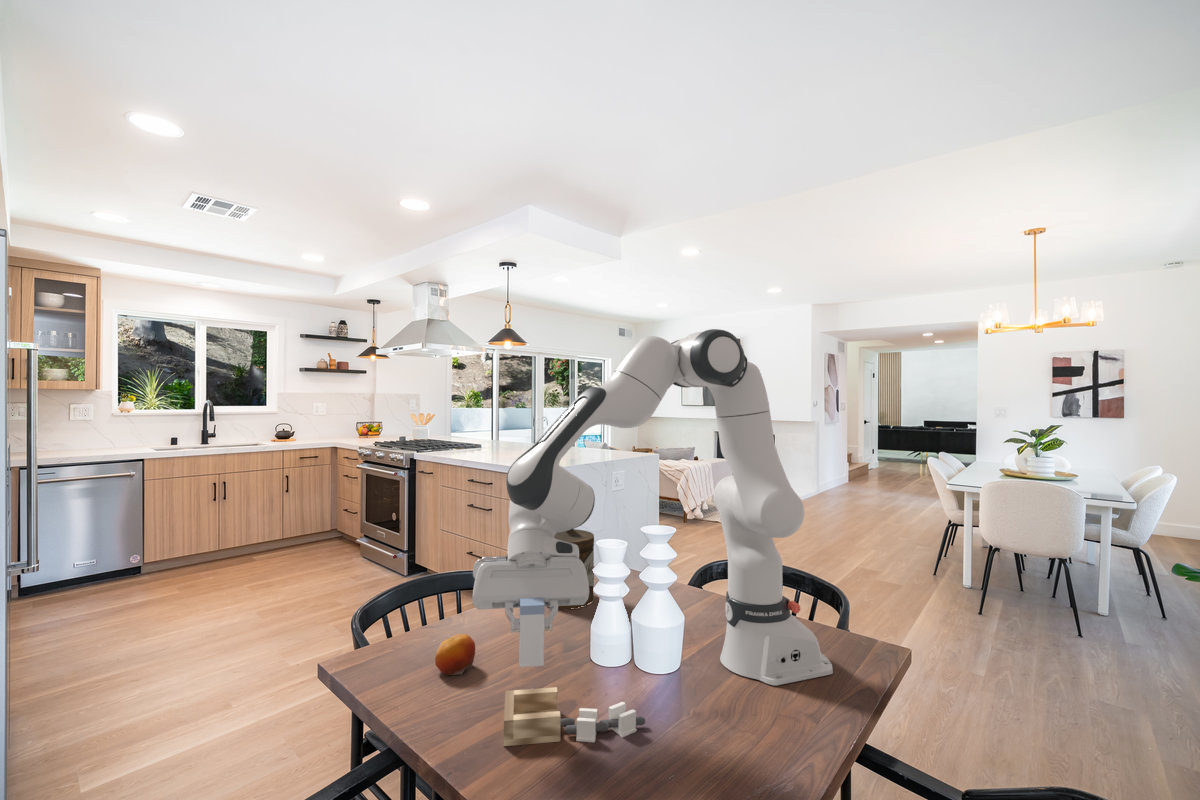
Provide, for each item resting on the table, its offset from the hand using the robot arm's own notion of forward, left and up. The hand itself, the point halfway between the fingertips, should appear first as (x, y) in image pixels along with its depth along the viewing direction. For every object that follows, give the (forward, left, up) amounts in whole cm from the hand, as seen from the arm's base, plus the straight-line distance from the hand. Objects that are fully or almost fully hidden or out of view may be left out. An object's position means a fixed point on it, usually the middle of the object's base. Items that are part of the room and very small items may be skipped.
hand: (531, 630), depth 89 cm
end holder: (0, -1, -16) cm, 16 cm away
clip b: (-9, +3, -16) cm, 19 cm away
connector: (0, -1, -5) cm, 5 cm away
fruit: (+15, -23, -17) cm, 32 cm away
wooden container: (-11, -59, -17) cm, 62 cm away
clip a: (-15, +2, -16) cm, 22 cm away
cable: (-11, +2, -16) cm, 19 cm away
